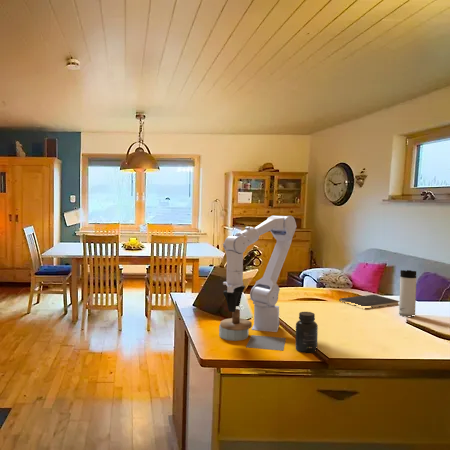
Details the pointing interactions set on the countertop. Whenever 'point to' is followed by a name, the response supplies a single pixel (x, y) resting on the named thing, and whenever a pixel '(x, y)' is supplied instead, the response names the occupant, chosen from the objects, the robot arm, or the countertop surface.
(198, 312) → the countertop surface
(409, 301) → the travel mug
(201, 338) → the countertop surface
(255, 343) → the mat
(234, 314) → the lid
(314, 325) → the supplement bottle
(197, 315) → the countertop surface
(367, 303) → the hardcover book
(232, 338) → the bowl
